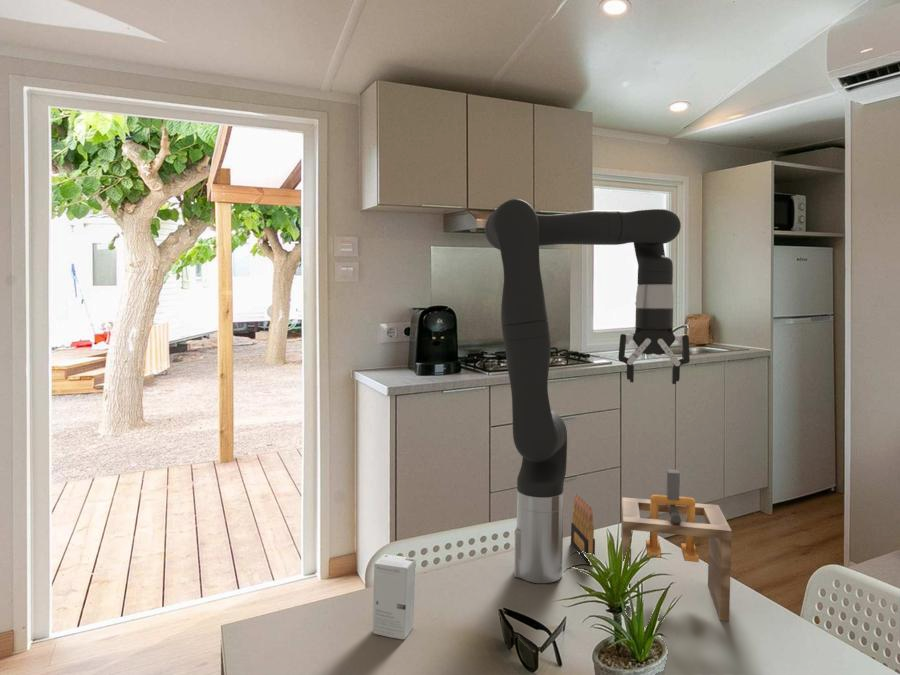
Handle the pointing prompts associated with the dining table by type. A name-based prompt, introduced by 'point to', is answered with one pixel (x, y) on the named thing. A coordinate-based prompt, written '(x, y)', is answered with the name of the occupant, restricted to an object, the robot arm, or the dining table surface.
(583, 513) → the ammunition clip
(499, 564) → the dining table surface
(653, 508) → the orange footed arch
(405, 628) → the skincare box
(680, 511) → the wooden frame stand
